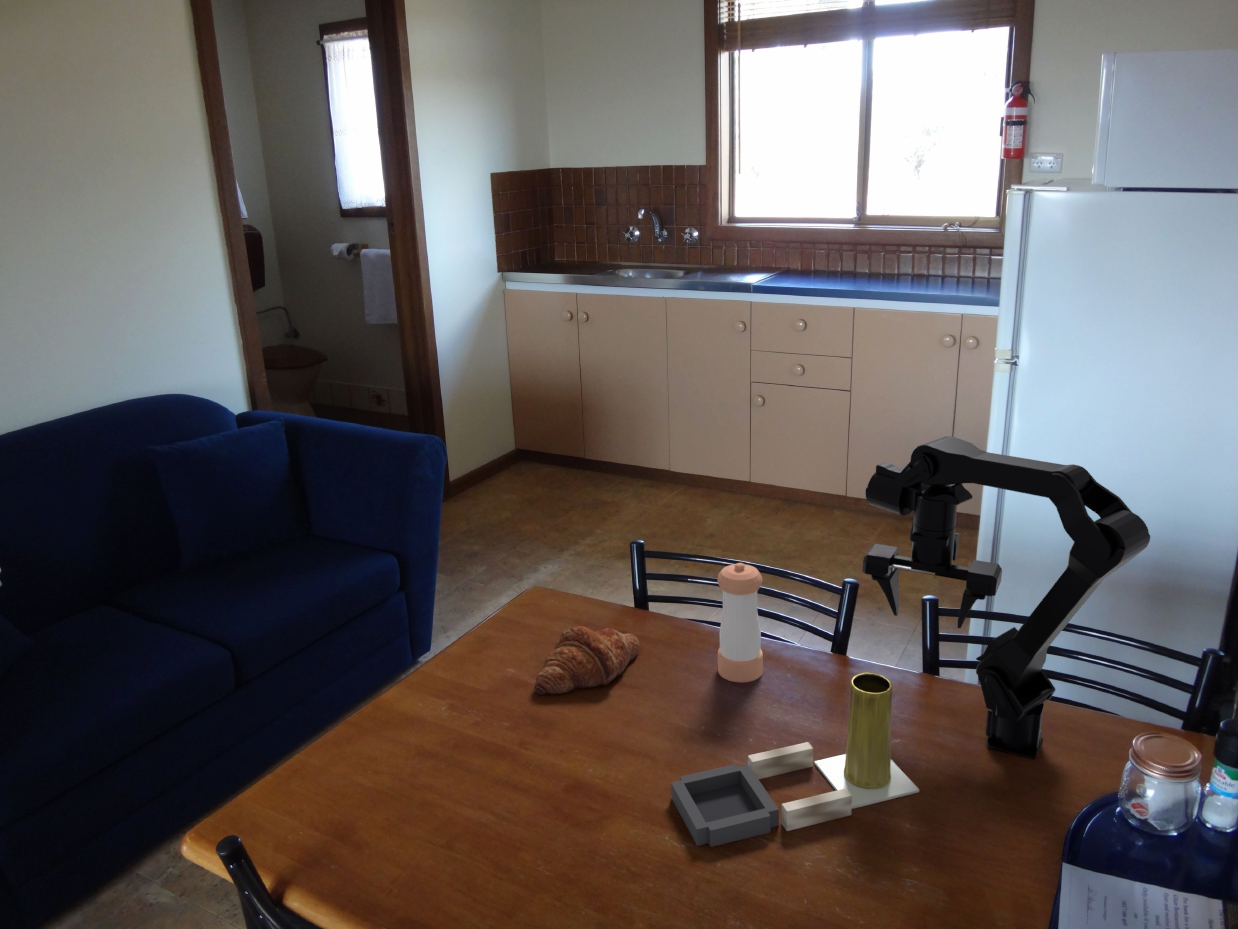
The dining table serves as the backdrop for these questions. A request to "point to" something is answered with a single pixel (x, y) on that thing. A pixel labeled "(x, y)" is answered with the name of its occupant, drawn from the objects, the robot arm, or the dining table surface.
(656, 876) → the dining table surface
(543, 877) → the dining table surface
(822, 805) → the channel
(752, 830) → the tray
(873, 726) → the vase
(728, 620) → the salt shaker
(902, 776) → the pad
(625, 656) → the pastry
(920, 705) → the dining table surface
